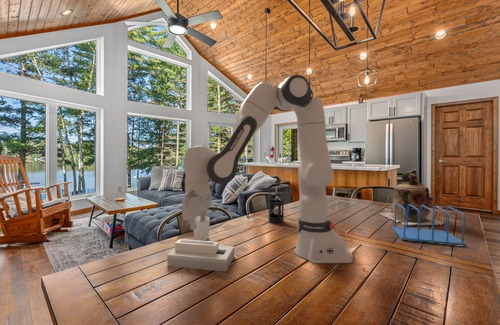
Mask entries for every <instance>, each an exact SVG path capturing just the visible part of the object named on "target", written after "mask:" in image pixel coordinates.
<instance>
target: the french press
mask: <svg viewBox="0 0 500 325" xmlns="http://www.w3.org/2000/svg"><path fill="white" fill-rule="evenodd" d="M272 184H273V185H275V191H272V192H268V194H269V198H271V199H270V200H269V201H268V223H269V224H278V223H279V224H283V223H285V219H284V218H285V216H284V205H285V202H284V200H279V199H277V198H278V197H282V198H284V195H285V193H284V192H280V191H278V185H281V183H280V182H273V183H272ZM274 198H275V199H274ZM279 224H278V225H279Z"/></svg>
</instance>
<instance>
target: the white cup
mask: <svg viewBox="0 0 500 325" xmlns="http://www.w3.org/2000/svg"><path fill="white" fill-rule="evenodd" d="M200 217H201V215H199V216H197V217H196V218H195V224H196V227H197V228H196V229H195V230H193V240H200V241H208V239H209V237H210V235H209V234H210V225H211V224H210V222H211V221H210V219H211V218H210V217H209V216H207V215H206V220H205V221H204V222H200Z"/></svg>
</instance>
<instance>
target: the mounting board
mask: <svg viewBox="0 0 500 325" xmlns="http://www.w3.org/2000/svg"><path fill="white" fill-rule="evenodd" d="M234 257H235V246H234V245H233V246H232V245H221V244H219V250H218V251H217V253H216V254H210V253H198V252H186V251H175V248H174V249H172V250H171V251H170V252H169V253H168V254H167V256H166V258H167V260H166V262H167V265H166V266H167V267H173V268H184V269H194V270H202V271H203V270H204V271H214V272H215V271H216V272H227V271H228V269H229V268H230V265H231V263H232V261H233V260H234Z"/></svg>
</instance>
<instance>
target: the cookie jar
mask: <svg viewBox="0 0 500 325" xmlns="http://www.w3.org/2000/svg"><path fill="white" fill-rule="evenodd" d="M401 180H402V183H400V184H395V185H393V186H392V188H393V190H394V193H393V197H392V204H391V205H392V212H385V213H382V212H380V215H381V216H382V217H384V218H387V219H389V220H391V219H392V220H391V221H393V220H394V221H393V222H395V206H396V204H397V203H398V204H399V205H401V206H402V207H404V208H405V210H406V225H407V207H408V204H411V205H412V206H414V207H416V208H417V209H418V210H419V211H420V207H421V205H424V206H426V207H428V208H429V209H431V208H430V205H432V203H433V201H434V198H433V197H431V193H430V188H428V187H427V186H425V185H424V184H423V183H421V182H420V181H419V180H418V177H417V168H414V169H412V170H405V171H404V172H403V173H402V175H401ZM399 205H397V210H396V223H398V222H399V221H404V220H405V211H404V209H403V208H401V207H400V206H399ZM430 213H431V211H430V210H428V209H427V208H425V207H423V206H422V209H421V226H432V218H431V217H428V215H430ZM418 217H419V215H418V211H417V210H416V209H415V208H413V207H411V206H410V205H409V212H408V226H418ZM444 223H445V221H443V220H437V219H435V220H434V226H442V224H443V225H444ZM402 224H404V223H402ZM402 224H401V225H402ZM439 224H440V225H439Z"/></svg>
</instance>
